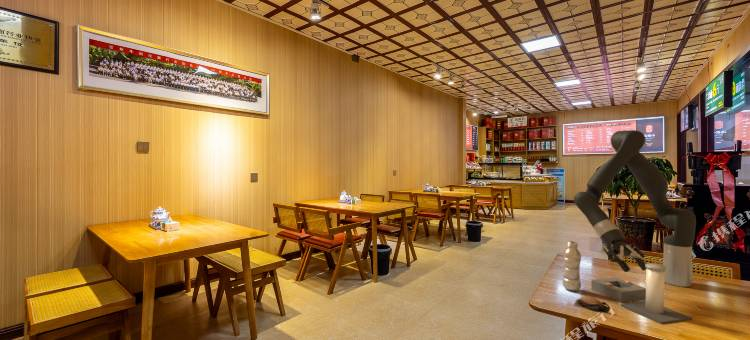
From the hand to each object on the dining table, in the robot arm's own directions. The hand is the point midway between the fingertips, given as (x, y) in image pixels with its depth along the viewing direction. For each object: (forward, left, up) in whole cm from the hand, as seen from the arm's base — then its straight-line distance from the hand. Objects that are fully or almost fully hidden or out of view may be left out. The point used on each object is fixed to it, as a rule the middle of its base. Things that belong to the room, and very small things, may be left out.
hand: (637, 270), depth 123 cm
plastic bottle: (+12, -17, -13) cm, 25 cm away
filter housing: (-3, -9, -13) cm, 16 cm away
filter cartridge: (0, +7, -12) cm, 14 cm away
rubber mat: (0, +7, -13) cm, 14 cm away
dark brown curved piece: (+18, -3, -14) cm, 23 cm away
